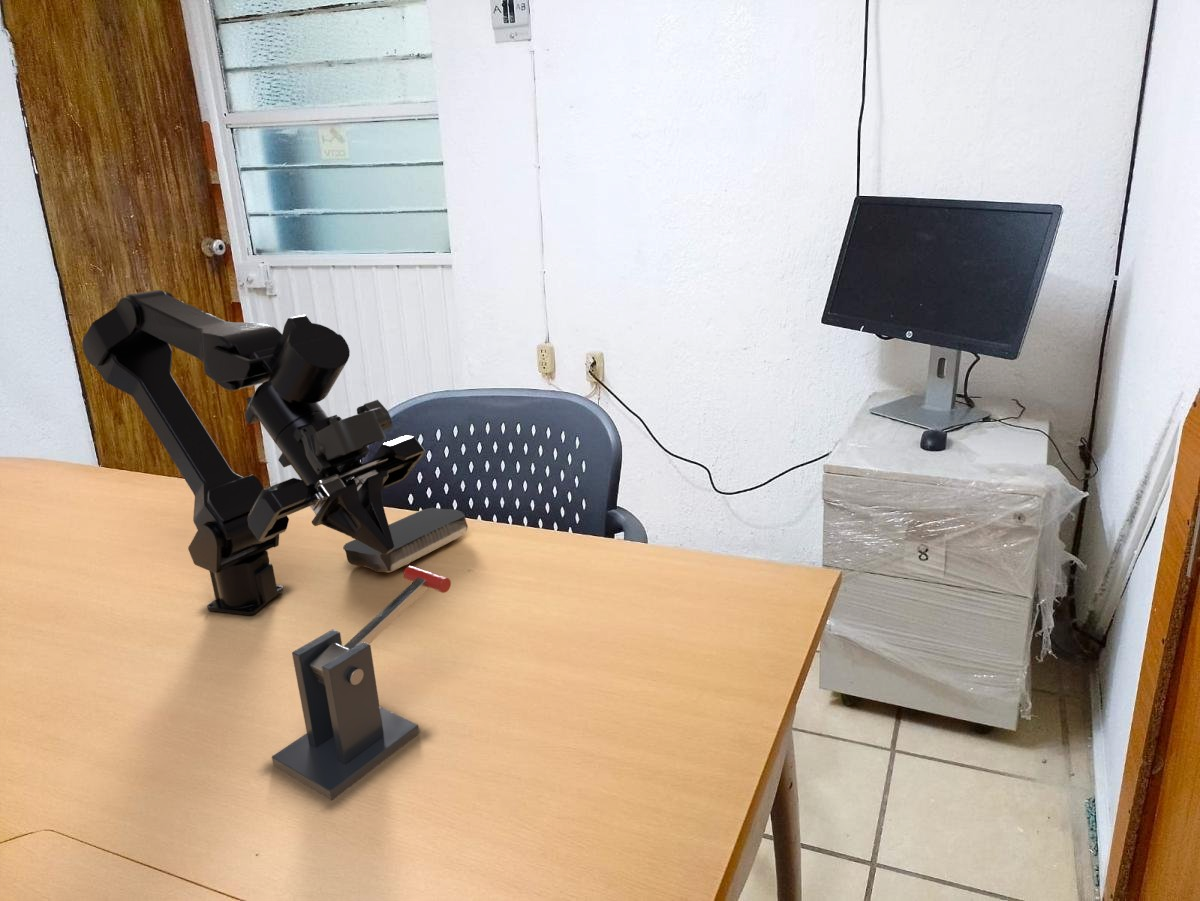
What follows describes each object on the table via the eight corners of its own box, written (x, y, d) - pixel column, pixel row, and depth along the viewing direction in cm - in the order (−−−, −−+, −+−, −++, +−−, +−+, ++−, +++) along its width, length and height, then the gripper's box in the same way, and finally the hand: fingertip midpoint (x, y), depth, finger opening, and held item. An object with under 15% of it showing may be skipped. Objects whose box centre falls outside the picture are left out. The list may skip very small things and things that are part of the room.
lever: (417, 577, 82) (410, 558, 81) (454, 590, 80) (447, 571, 78) (308, 678, 73) (298, 659, 72) (346, 696, 70) (336, 677, 69)
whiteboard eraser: (383, 584, 104) (379, 557, 103) (341, 567, 109) (337, 541, 108) (474, 537, 117) (472, 513, 115) (433, 523, 121) (431, 500, 120)
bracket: (362, 707, 81) (347, 610, 77) (420, 735, 77) (406, 634, 73) (273, 767, 73) (252, 663, 70) (332, 802, 69) (312, 693, 65)
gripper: (242, 406, 72) (343, 548, 70) (402, 360, 87) (491, 477, 84) (208, 475, 79) (300, 606, 77) (362, 422, 93) (443, 531, 91)
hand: (389, 551), depth 82 cm, fingers closed
